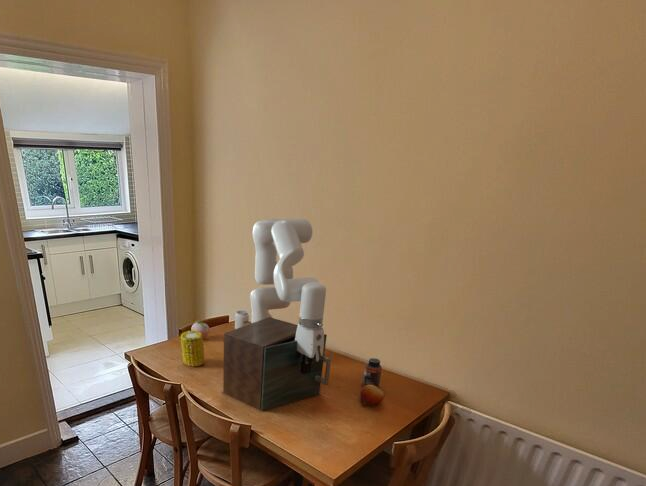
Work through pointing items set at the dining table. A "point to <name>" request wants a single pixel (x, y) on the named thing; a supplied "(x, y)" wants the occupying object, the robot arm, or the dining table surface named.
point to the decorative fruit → (201, 328)
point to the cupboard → (251, 357)
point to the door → (290, 375)
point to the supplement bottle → (372, 372)
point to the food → (192, 348)
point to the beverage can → (241, 319)
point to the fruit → (371, 395)
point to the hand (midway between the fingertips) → (305, 372)
